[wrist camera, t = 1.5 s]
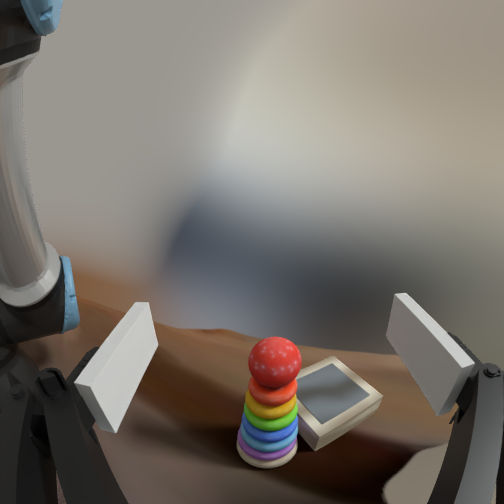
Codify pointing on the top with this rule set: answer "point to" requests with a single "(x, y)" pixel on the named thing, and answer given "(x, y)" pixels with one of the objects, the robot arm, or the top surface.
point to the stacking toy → (270, 405)
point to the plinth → (332, 401)
